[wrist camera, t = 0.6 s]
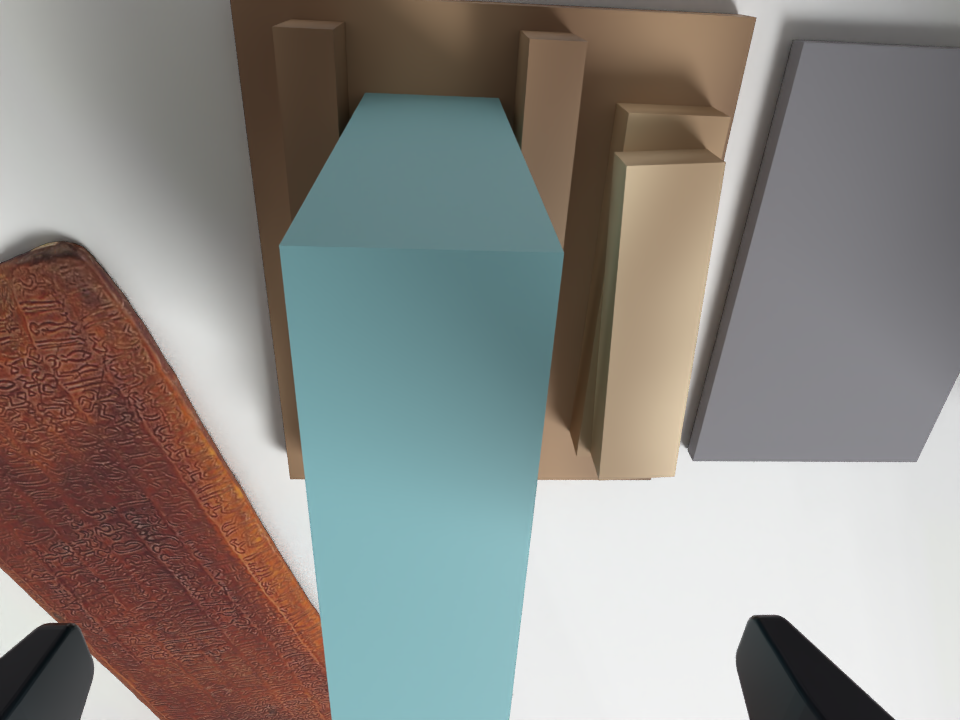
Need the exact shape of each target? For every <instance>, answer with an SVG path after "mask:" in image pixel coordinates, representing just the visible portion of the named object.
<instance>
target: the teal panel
mask: <svg viewBox="0 0 960 720" xmlns="http://www.w3.org/2000/svg"><path fill="white" fill-rule="evenodd" d="M279 249H280V258H281V267H282V276H283V285H284V294H285V303H286V312H287V321H288V330H289V339H290V348H291V357H292V366H293V375H294V384H295V393H296V402H297V411H298V420H299V429H300V438H301V447H302V456H303V465H304V474H305V483H306V492H307V501H308V510H309V519H310V528H311V537H312V546H313V555H314V564H315V573H316V582H317V591H318V600H319V609H320V618H321V627H322V636H323V645H324V654H325V663H326V672H327V681H328V690H329V699H330V708H331V717H332V720H509V717H510V708H511V700H512V691H513V683H514V674H515V666H516V657H517V649H518V640H519V632H520V623H521V615H522V606H523V598H524V589H525V581H526V572H527V564H528V555H529V547H530V538H531V530H532V521H533V513H534V504H535V496H536V487H537V479H538V470H539V462H540V453H541V445H542V436H543V428H544V419H545V411H546V402H547V394H548V385H549V377H550V368H551V360H552V351H553V343H554V334H555V326H556V317H557V309H558V300H559V292H560V283H561V275H562V266H563V258H564V251H563V249H562V247H561V244H560V242H559V240H558V237H557V235H556V232H555V230H554V228H553V225H552V223H551V221H550V218H549V216H548V214H547V211H546V209H545V206H544V204H543V202H542V199H541V197H540V195H539V192H538V190H537V187H536V185H535V183H534V180H533V178H532V176H531V173H530V171H529V169H528V166H527V164H526V161H525V159H524V157H523V154H522V152H521V150H520V147H519V145H518V143H517V140H516V138H515V135H514V133H513V131H512V128H511V126H510V124H509V121H508V119H507V117H506V114H505V112H504V109H503V107H502V105H501V102H500V100H499V98H484V97H460V96H436V95H411V94H387V93H365V94H364V96H363V97H362V99H361V101H360V103H359V105H358V106H357V108H356V110H355V112H354V113H353V115H352V117H351V119H350V121H349V122H348V124H347V126H346V128H345V129H344V131H343V133H342V135H341V137H340V138H339V140H338V142H337V144H336V145H335V147H334V149H333V151H332V152H331V154H330V156H329V158H328V160H327V161H326V163H325V165H324V167H323V168H322V170H321V172H320V174H319V176H318V177H317V179H316V181H315V183H314V184H313V186H312V188H311V190H310V192H309V193H308V195H307V197H306V199H305V200H304V202H303V204H302V206H301V208H300V209H299V211H298V213H297V215H296V216H295V218H294V220H293V222H292V224H291V225H290V227H289V229H288V231H287V232H286V234H285V236H284V238H283V240H282V241H281V243H280V245H279Z"/></svg>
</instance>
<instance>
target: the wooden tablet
mask: <svg viewBox="0 0 960 720" xmlns="http://www.w3.org/2000/svg"><path fill="white" fill-rule="evenodd" d="M0 568H1V569H2V570H3V571H4V572H5V573H7V574H8V575H9V576H10V577H11V578H12V579H13V580H14V581H15V582H16V583H17V584H18V585H19V586H20V587H21V588H22V589H23V590H25V591H26V592H27V593H28V595H29V596H30V597H31V598H33V599H34V600H35V601H36V602H37V603H38V604H39V605H40V606H41V607H42V608H43V609H44V610H45V611H46V612H47V613H48V614H49V615H51V616H52V617H53V618H54V619H55V620H56V621H57V622H58V623H75V624H76V625H78V626H79V627H80V629H81V631H82V634H83V636H84V639H85V641H86V644H87V646H88V649H89V651H90V654H91V655H93V656H94V657H95V658H96V659H97V660H98V661H99V662H100V663H101V664H102V665H103V666H104V667H106V668H107V669H108V670H109V671H110V672H111V673H112V674H113V675H114V676H115V677H116V678H118V679H119V680H120V681H121V682H122V683H123V684H124V685H125V686H126V687H127V688H128V689H129V690H130V691H131V692H132V693H134V695H135V696H136V697H137V698H138V699H139V700H140V701H141V702H142V703H144V704H145V705H146V706H147V707H148V708H149V709H150V710H151V711H152V712H153V713H154V714H155V715H156V716H157V717H158V718H159V719H160V720H332V717H331V708H330V699H329V690H328V681H327V672H326V663H325V654H324V645H323V636H322V627H321V618H320V615H319V614H318V612H317V611H316V609H315V608H314V607H313V606H312V605H311V603H310V601H309V600H308V598H307V596H306V595H305V593H304V591H303V590H302V588H301V587H300V586H299V584H298V582H297V581H296V579H295V577H294V575H293V574H292V572H291V571H290V569H289V568H288V566H287V565H286V563H285V561H284V560H283V558H282V556H281V555H280V553H279V551H278V550H277V548H276V546H275V544H274V543H273V541H272V539H271V538H270V536H269V535H268V533H267V532H266V530H265V529H264V527H263V525H262V523H261V521H260V520H259V518H258V516H257V514H256V513H255V511H254V509H253V507H252V506H251V504H250V502H249V500H248V498H247V496H246V494H245V492H244V491H243V489H242V488H241V486H240V485H239V483H238V482H237V480H236V479H235V477H234V476H233V474H232V473H231V471H230V469H229V467H228V466H227V464H226V462H225V461H224V459H223V458H222V456H221V454H220V452H219V450H218V448H217V447H216V445H215V444H214V442H213V441H212V439H211V437H210V435H209V434H208V432H207V431H206V429H205V428H204V426H203V424H202V422H201V421H200V419H199V417H198V415H197V413H196V411H195V410H194V408H193V406H192V404H191V402H190V401H189V399H188V397H187V396H186V394H185V392H184V390H183V388H182V386H181V384H180V382H179V380H178V378H177V376H176V374H175V372H174V371H173V370H172V369H171V367H170V366H169V364H168V363H167V361H166V360H165V358H164V356H163V354H162V352H161V351H160V349H159V347H158V346H157V344H156V342H155V341H154V339H153V337H152V336H151V334H150V333H149V331H148V329H147V328H146V326H145V325H144V323H143V322H142V320H141V319H140V318H139V317H138V316H137V315H136V313H135V311H134V310H133V308H132V306H131V305H130V303H129V302H128V300H127V299H126V297H125V295H124V294H123V293H122V291H121V290H120V289H119V288H118V287H117V286H116V285H115V283H114V282H113V280H112V279H111V277H110V276H109V275H108V274H107V273H106V272H105V271H104V270H103V268H102V267H101V266H100V265H99V264H98V263H97V262H96V260H95V258H94V257H93V256H92V255H91V254H90V253H89V252H88V251H87V250H86V249H85V248H84V247H82V246H80V245H77V244H74V243H69V242H65V241H59V242H52V243H47V244H44V245H41V246H39V247H36V248H34V249H32V250H31V251H29V252H26V253H24V254H21V255H19V256H16V257H14V258H12V259H10V260H7V261H5V262H2V263H0Z"/></svg>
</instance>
